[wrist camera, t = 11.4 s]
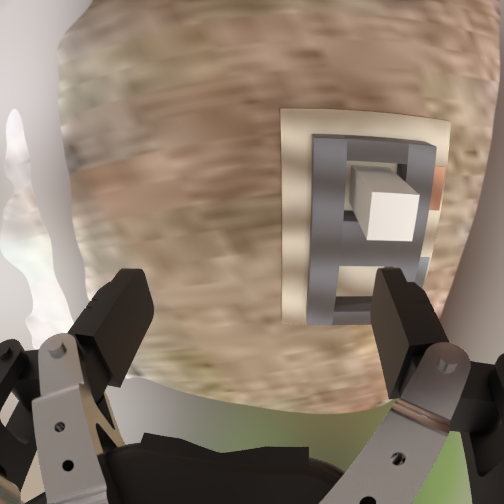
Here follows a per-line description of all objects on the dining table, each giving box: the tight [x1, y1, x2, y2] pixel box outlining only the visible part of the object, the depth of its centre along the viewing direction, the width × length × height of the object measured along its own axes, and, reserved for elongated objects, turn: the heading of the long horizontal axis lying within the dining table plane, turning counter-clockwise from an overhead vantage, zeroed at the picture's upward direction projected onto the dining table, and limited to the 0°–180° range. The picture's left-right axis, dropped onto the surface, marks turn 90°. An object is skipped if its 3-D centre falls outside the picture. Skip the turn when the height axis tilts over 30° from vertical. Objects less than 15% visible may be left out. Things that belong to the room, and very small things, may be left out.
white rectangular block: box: [349, 165, 420, 241], centre depth 28 cm, size 4×4×9 cm
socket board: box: [280, 108, 451, 325], centre depth 33 cm, size 26×18×4 cm
